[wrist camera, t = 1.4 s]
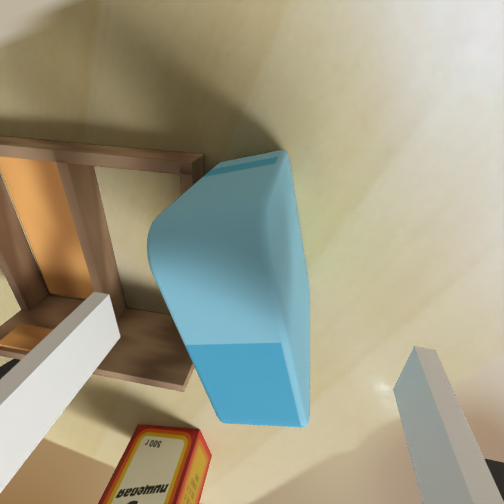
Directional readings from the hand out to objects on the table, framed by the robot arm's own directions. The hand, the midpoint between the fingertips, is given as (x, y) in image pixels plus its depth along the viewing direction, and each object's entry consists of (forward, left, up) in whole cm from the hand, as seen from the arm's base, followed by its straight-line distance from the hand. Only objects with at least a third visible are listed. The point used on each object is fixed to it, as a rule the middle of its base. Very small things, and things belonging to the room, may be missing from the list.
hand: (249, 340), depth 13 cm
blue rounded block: (0, 0, -11) cm, 11 cm away
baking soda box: (-11, -35, -11) cm, 38 cm away
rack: (-15, -3, -11) cm, 19 cm away
